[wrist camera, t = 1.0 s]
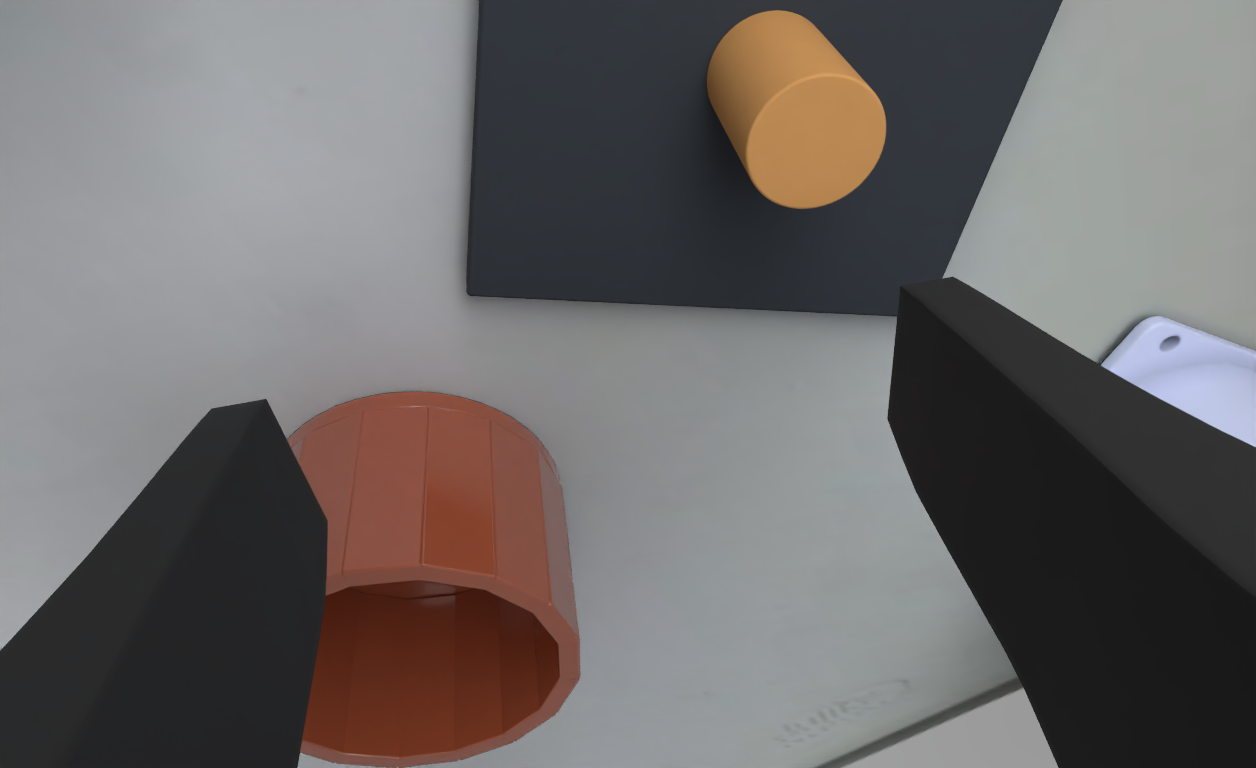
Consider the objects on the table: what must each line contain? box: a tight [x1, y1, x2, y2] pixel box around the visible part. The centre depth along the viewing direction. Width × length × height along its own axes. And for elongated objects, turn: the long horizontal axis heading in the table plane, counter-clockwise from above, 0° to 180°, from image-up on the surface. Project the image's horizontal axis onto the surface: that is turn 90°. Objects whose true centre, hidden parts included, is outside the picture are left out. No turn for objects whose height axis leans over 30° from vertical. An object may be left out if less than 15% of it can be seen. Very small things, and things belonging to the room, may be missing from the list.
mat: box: [466, 0, 1062, 316], centre depth 16 cm, size 11×11×4 cm
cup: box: [287, 392, 580, 768], centre depth 22 cm, size 8×8×6 cm
